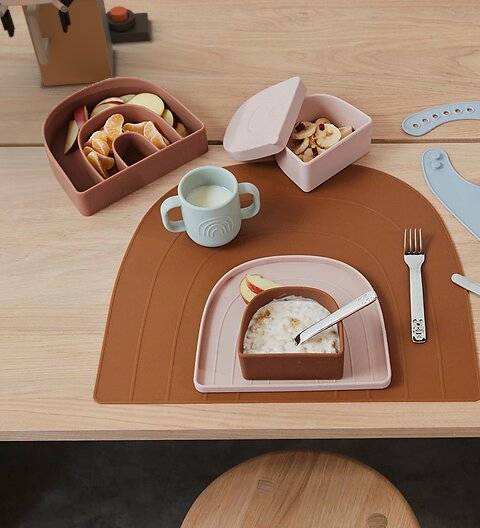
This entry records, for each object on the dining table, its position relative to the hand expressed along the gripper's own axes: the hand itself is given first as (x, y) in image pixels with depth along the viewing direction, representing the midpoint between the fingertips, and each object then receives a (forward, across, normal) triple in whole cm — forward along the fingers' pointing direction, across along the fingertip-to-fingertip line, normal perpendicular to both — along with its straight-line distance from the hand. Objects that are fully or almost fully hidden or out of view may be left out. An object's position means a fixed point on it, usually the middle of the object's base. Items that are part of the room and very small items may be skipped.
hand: (39, 30), depth 130 cm
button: (+13, -13, -25) cm, 31 cm away
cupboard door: (+16, -4, -4) cm, 17 cm away
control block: (+17, -12, -25) cm, 32 cm away
